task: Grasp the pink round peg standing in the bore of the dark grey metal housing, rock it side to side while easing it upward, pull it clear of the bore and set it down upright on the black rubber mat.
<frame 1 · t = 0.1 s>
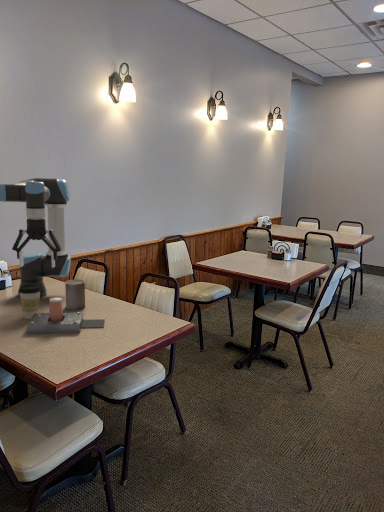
hand: (37, 266, 179), 28 cm above the table, fingers open, 13 cm apart
pink round peg: (56, 326, 186), resting in housing
housing: (56, 326, 186), on the table
pillar candle: (75, 307, 213), on the table
coffee cup: (31, 317, 197), on the table
mat: (93, 324, 191), on the table
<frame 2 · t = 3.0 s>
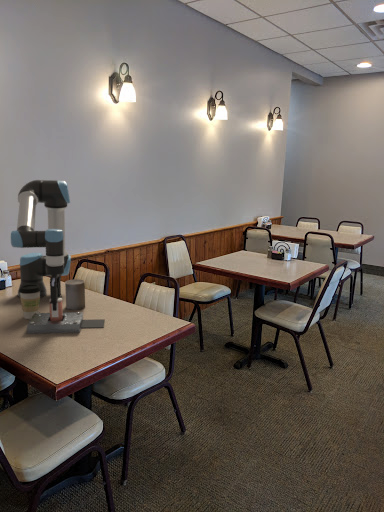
hand: (56, 314, 185), 6 cm above the table, fingers closed on pink round peg, 5 cm apart
pink round peg: (56, 326, 186), resting in housing, touching gripper
everything else where it was.
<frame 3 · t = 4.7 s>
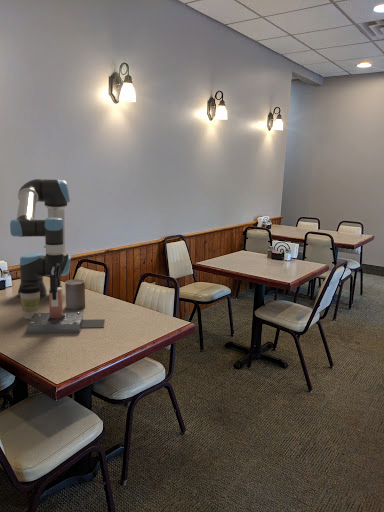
hand: (56, 303, 184), 11 cm above the table, fingers closed on pink round peg, 5 cm apart
pink round peg: (56, 316, 185), point 5 cm above the table, touching gripper
everything else where it was.
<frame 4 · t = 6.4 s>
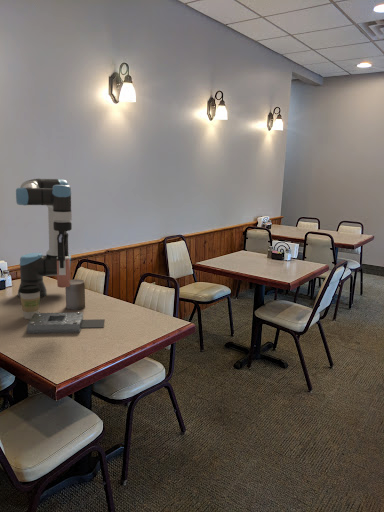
hand: (63, 273, 182), 25 cm above the table, fingers closed on pink round peg, 5 cm apart
pink round peg: (63, 285, 183), point 19 cm above the table, touching gripper
everything else where it was.
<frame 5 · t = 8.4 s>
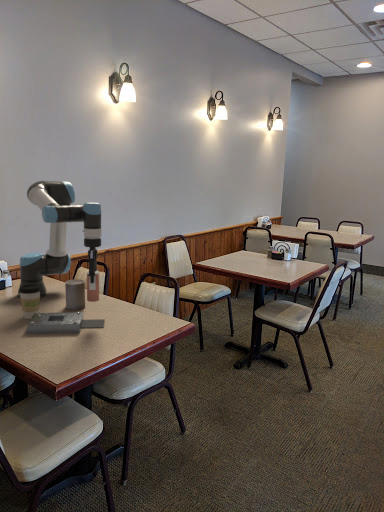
hand: (93, 287, 187), 18 cm above the table, fingers closed on pink round peg, 5 cm apart
pink round peg: (93, 299, 188), point 12 cm above the table, touching gripper
everything else where it was.
when the fingers open (8 cm above the table, at t = 10.2 s): pink round peg drops 1 cm, resting on mat.
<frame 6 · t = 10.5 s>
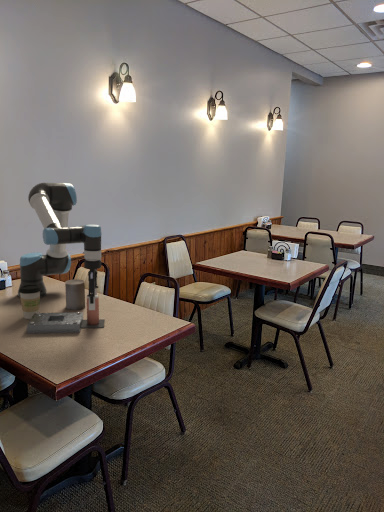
hand: (93, 305, 189), 9 cm above the table, fingers open, 10 cm apart
pink round peg: (93, 323, 191), resting on mat
everything else where it was.
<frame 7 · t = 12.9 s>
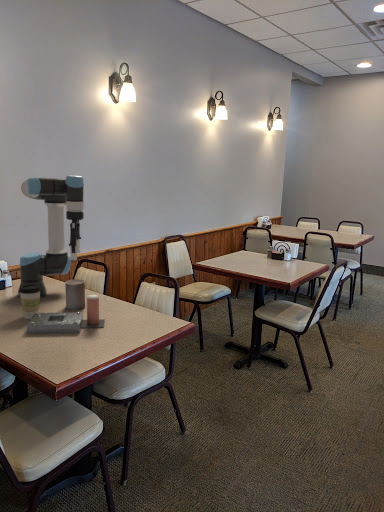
hand: (75, 256, 189), 31 cm above the table, fingers open, 13 cm apart
nothing on the table moved.
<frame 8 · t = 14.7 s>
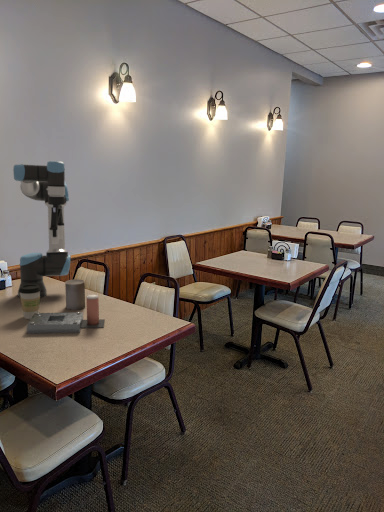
hand: (57, 241, 192), 37 cm above the table, fingers open, 13 cm apart
nothing on the table moved.
at the end: pink round peg inside the target area on the mat (0.1 cm from its centre), point 0.4 cm above the mat's base; pink round peg tilted 1°; the gripper is holding nothing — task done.
